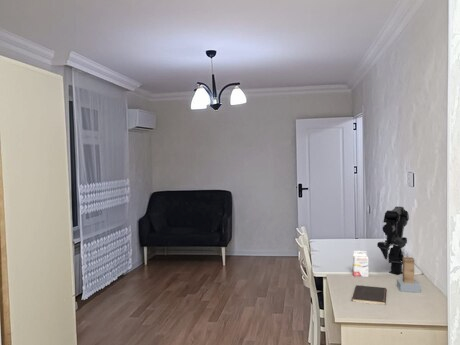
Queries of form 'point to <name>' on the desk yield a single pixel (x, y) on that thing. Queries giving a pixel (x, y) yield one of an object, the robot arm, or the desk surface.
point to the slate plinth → (408, 286)
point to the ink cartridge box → (360, 264)
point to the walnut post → (408, 270)
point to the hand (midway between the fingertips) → (391, 258)
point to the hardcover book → (370, 294)
